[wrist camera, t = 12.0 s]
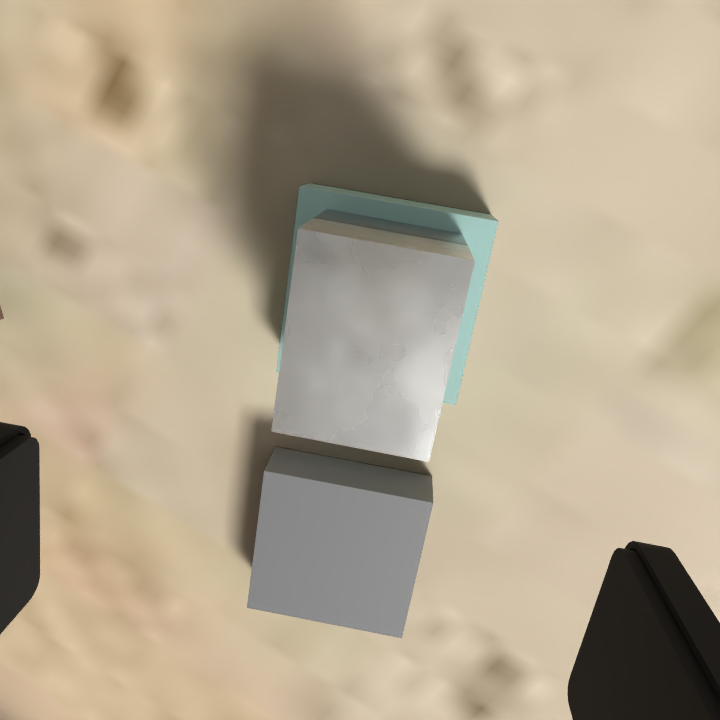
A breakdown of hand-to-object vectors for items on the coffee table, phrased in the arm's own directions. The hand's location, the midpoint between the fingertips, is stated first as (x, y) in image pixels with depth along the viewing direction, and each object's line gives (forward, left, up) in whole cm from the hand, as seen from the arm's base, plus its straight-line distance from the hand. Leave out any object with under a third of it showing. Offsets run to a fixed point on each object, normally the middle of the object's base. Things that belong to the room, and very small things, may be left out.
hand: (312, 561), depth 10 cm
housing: (0, 0, -17) cm, 17 cm away
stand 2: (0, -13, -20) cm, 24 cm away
